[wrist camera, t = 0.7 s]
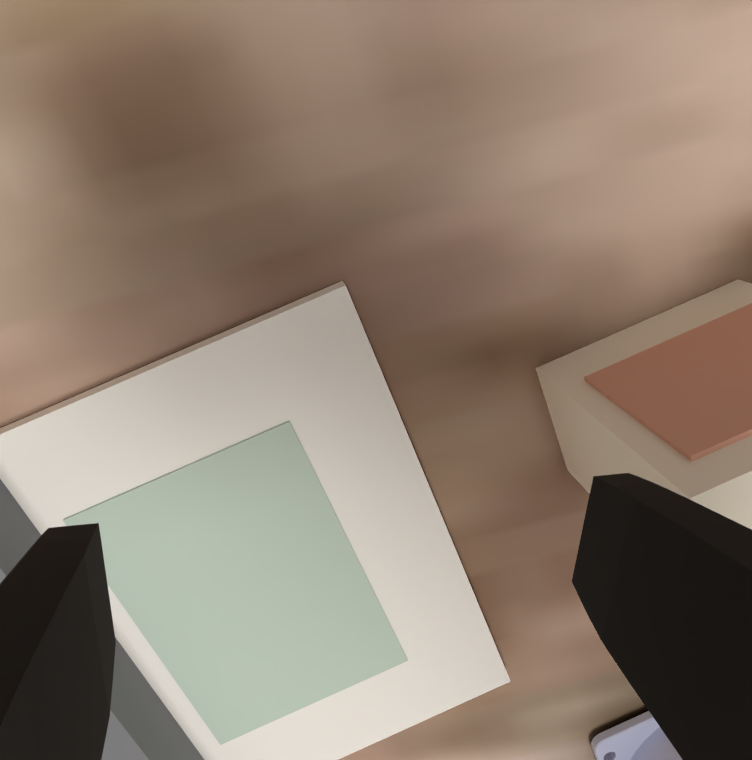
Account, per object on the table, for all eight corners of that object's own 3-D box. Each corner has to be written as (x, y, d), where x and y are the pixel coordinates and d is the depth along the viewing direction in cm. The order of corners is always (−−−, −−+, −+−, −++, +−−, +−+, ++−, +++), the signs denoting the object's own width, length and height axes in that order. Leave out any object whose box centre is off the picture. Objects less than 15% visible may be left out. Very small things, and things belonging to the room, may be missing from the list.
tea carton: (755, 386, 23) (996, 510, 16) (567, 469, 23) (721, 635, 15) (736, 274, 21) (996, 355, 14) (533, 363, 21) (689, 492, 14)
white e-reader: (504, 668, 25) (536, 736, 23) (204, 804, 25) (200, 889, 22) (342, 280, 19) (359, 307, 16) (-61, 454, 19) (-113, 511, 16)
